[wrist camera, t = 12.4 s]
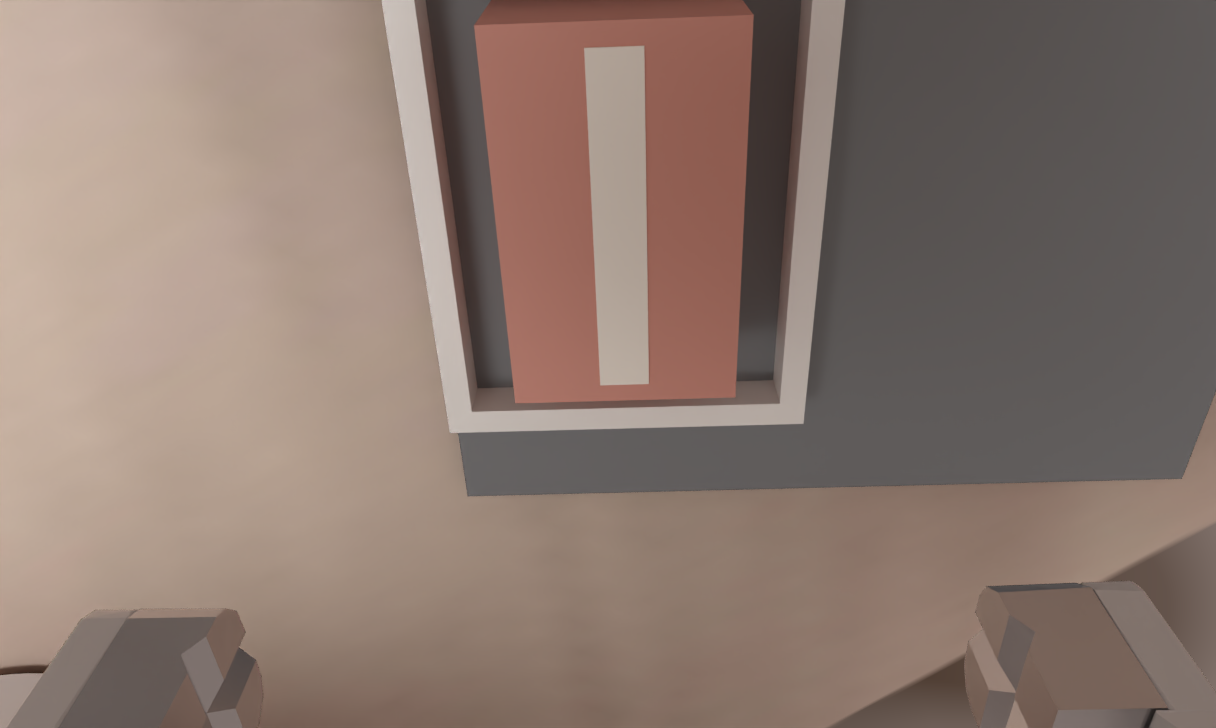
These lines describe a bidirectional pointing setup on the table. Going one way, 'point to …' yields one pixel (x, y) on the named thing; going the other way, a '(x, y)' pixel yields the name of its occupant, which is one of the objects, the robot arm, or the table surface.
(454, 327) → the frame
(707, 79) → the card deck
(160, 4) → the table surface
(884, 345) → the desk mat
